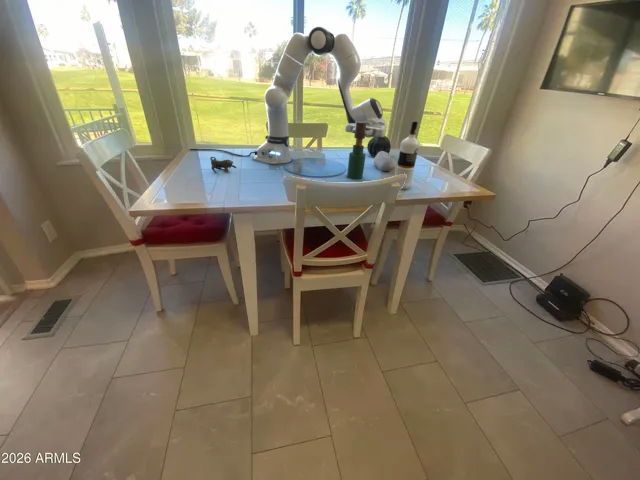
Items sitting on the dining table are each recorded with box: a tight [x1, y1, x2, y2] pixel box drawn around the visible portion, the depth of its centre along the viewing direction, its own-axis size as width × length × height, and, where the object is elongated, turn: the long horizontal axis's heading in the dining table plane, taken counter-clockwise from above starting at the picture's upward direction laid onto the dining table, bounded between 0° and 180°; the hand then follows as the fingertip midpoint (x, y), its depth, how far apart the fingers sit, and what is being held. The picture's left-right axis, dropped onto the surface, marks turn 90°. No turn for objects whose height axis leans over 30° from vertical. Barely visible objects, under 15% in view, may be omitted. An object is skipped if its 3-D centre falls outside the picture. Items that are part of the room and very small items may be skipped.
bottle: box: [346, 144, 366, 181], centre depth 139 cm, size 8×8×16 cm
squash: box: [366, 135, 392, 157], centre depth 177 cm, size 14×15×15 cm
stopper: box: [353, 121, 367, 147], centre depth 131 cm, size 5×5×11 cm
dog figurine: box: [209, 156, 237, 174], centre depth 139 cm, size 12×6×7 cm, turn 94°
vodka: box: [394, 120, 421, 190], centre depth 126 cm, size 9×9×30 cm
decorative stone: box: [372, 151, 396, 172], centre depth 156 cm, size 17×10×10 cm
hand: (359, 132), depth 130 cm, fingers closed on stopper, 5 cm apart
